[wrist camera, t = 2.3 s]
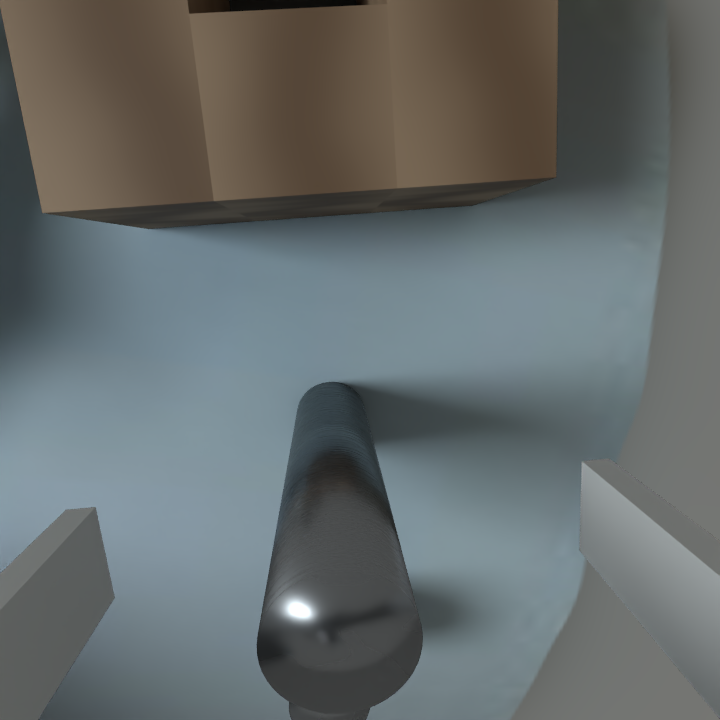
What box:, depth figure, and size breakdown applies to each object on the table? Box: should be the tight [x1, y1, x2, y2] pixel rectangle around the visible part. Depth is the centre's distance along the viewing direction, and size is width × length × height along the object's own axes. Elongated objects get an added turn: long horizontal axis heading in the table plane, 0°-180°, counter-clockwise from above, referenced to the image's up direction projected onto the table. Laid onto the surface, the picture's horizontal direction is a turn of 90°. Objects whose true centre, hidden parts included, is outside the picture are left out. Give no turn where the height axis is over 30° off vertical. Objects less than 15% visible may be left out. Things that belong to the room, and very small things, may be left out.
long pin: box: [257, 382, 423, 714], centre depth 16 cm, size 3×3×14 cm
